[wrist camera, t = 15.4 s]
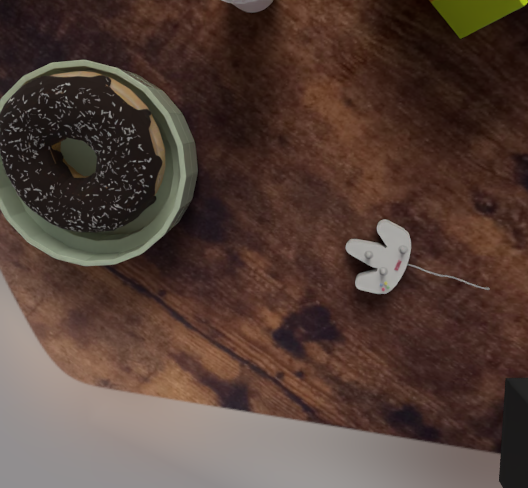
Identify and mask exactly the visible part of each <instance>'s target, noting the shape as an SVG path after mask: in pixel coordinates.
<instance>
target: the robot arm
mask: <svg viewBox="0 0 528 488" xmlns="http://www.w3.org/2000/svg"><path fill="white" fill-rule="evenodd" d="M499 482H500V483H501V485H502V487H503V488H528V378H506V382H505V397H504V413H503V428H502V444H501V459H500V475H499Z"/></svg>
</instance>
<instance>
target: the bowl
mask: <svg viewBox="0 0 528 488" xmlns="http://www.w3.org/2000/svg"><path fill="white" fill-rule="evenodd" d="M76 71H86V72H95V73H98V74H101V75H104V76H107V77H110V78H112V79H114V80H115V81H117V82H119V83H121V84H122V85H124V86H126V87H127V88H129V89H130V90H131V91H132V92H133V93H134V94H135V95H136V96H137V97H138V98H139V99H140V100H141V101H142V102H143V103H144V104H145V105H146V106H147V107H148V109H149V111H151V115H152V116H153V118H154V120H155V122H156V124H157V126H158V128H159V131H160V134H161V137H162V141H163V144H164V147H165V171H164V175H163V180H162V183H161V185H160V187H159V189H158V191H157V193H156V195H155V196H156V201H155V202H154V203H153V204H152V205H150V206H149V207H148V208H146V209H145V210H144V211H143V212H142V213H141V214H140V216H139V217H138V218H136V219H135V220H134V221H132V222H130V223H129V224H127V225H125V226H122V227H120V228H117V229H116V230H114V231H105V232H97V233H95V232H76V231H70V230H66V229H62V228H58V227H57V226H55V225H53V224H51V223H48V221H47V222H46V221H45V219H44V218H42V217H41V216H39V215H38V214H36V213H34V211H32V210H31V209H30V208H29V207H28V206H27V205H26V204H25V203H24V202H23V200H22V199H21V198H20V197H19V195H18V196H17V192H16V190H15V188H14V187H13V186H12V184H11V182H10V179H9V177H8V176H7V175H6V171H5V168H4V165H3V163H2V160H1V155H0V209H1V211H2V213H3V215H4V216H5V218H6V220H7V221H8V222H9V223H10V224H11V225H12V226H13V227H14V228H15V229H16V230H17V232H18V233H19V234H20V235H21V236H22V237H23V238H24V239H25V240H26V241H27V242H28V243H29V244H31V245H33V246H34V247H36V248H38V249H40V250H41V251H43V252H45V253H46V254H48V255H50V256H51V257H53V258H55V259H58V260H62V261H66V262H70V263H74V264H78V265H82V266H101V265H115V264H118V263H120V262H123V261H125V260H128V259H131V258H133V257H136V256H138V255H141V254H143V253H144V252H145V251H146V250H147V249H148V248H150V247H151V246H152V245H153V244H154V243H156V242H157V241H158V240H159V239H160V238H161V237H163V236H164V235H165V234H166V233H167V232H168V231H170V230H171V229H172V228H173V227H174V226H175V225H177V223H179V221H180V219H181V218H182V216H183V214H184V213H185V211H186V209H187V207H188V206H189V204H190V202H191V201H192V198H193V193H194V188H195V184H196V179H197V174H198V166H197V156H196V147H195V143H194V142H195V141H194V139H193V137H192V134H191V132H190V129H189V127H188V125H187V122H186V120H185V118H184V115H183V114H182V113H181V111H180V110H179V109H178V108H177V107H176V105H175V104H174V103H173V102H172V101H171V100H170V98H169V97H168V96H167V95H166V94H165V92H164V91H162V90H161V89H159V88H158V87H156V86H155V85H153V84H152V83H150V82H148V81H147V80H145V79H144V78H142V77H141V76H139V75H137V74H134V73H131V72H128V71H125V70H122V69H119V68H115V67H111V66H107V65H103V64H100V63H96V62H92V61H88V60H75V61H64V62H53V63H50V64H48V65H46V66H43V67H41V68H39V69H37V70H35V71H33V72H31V73H29V74H26V75H24V76H23V77H22V78H21V79H20V80H19V81H18V82H17V83H16V84H15V85H14V86H13V87H12V88H11V89H10V90H9V91H8V92H7V93H6V94H5V95H4V96H3V97H2V98H1V100H0V112H1V110H2V108H3V106H4V104H5V103H6V102H7V101H8V100H9V99H10V97H11V96H12V95H13V94H14V93H15V92H16V91H17V90H18V89H19V88H21V87H22V86H23V85H25V84H26V83H28V82H30V81H32V80H34V79H36V78H39V77H41V76H51V75H53V74H60V73H68V72H76ZM60 150H61V153H62V155H63V156H64V159H65V161H66V162H67V163H68V164H69V165H70V166H71V167H73V168H74V169H75V170H76V171H77V172H78V173H79V174H81V175H83V176H90V175H92V174H93V173H94V172H95V171H96V163H97V156H96V154H95V152H94V150H92V148H91V147H90V146H88V145H87V144H85V142H84V141H81V140H75V139H71V138H66V139H65V140H63V141H61V149H60ZM3 168H4V169H3ZM50 224H51V225H50Z"/></svg>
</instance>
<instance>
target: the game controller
mask: <svg viewBox="0 0 528 488" xmlns="http://www.w3.org/2000/svg"><path fill="white" fill-rule="evenodd" d="M377 232H378V234H379V236H380V237H381V239H382V240H383V242H384V243H385V245H386V246H384V245H383V244H381V243H377V242H372V241H366V240H360V239H351V240H349V241H348V242H347V244H346V251H347V252H348V253H349V254H350V255H352V256H354V257H355V258H357V259H359V260H360V261H362V262H364V263H366V264H367V265H369V266H371V267H374V268H377V269H373V270H369V271H365V272H362V273H359V274H358V275H357V277H356V281H355V285H356V287H357V288H358V289H359V290H362V291H367V292H371V293H375V294H386V293H388V292H390V291H391V290H392V289H393V288H394V287H395V286H396V285H397V283H398V282H399V280H400V279H401V277H402V275H403V273H404V271H405V269H406V266H407V265H409V266H412V267H415V268H418V269H420V270H422V271H425V272H428V273H431V274H434V275H438V276H442V277H444V276H446V277H450V278H453V279H457V280H460V281H463V282H465V283H467V284H470V285H472V286H475V287H479V288H482V289H486V290H489V289H490V288H488V287H487V288H484V287H480V286H477V285H474V284H471V283H469V282H467V281H464V280H461V279H458V278H455V277H452V276H448V275H440V274H436V273H433V272H430V271H427V270H424V269H422V268H420V267H417V266H414V265H411V264H407V263H408V260H409V257H410V251H411V239H410V236H409V233H408V232H407V231H406V230H405V229H404V228H402V227H400V226H398V225H397V224H395V223H393V222H391V221H389V220H385V219H384V220H381V221H379V223H378V224H377Z"/></svg>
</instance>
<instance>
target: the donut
mask: <svg viewBox="0 0 528 488" xmlns="http://www.w3.org/2000/svg"><path fill="white" fill-rule="evenodd" d="M66 138H71V139H75V140H81V141H84V142H85V144H87V145H88V146H90V147H91V148H92V150H94V152H95V154H96V156H97V163H96V171H95V172H94V173H93V174H92V175H90V176H83V175H81V174H79V173H78V172H77V171H76V170H75V169H74V168H73V167H71V166H70V165H69V164H68V163H67V162H66V161H65V159H64V156H63V155H62V153H61V150H60V149H61V141H63V140H65V139H66ZM0 155H1V160H2V163H3V165H4V168H5V171H6V175H7V176H8V177H9V179H10V182H11V184H12V186H13V187H14V188H15V190H16V192H17V196H18V195H19V197H20V198H21V199H22V200H23V202H24V203H25V204H26V205H27V206H28V207H29V208H30V209H31V210H32V211H34V213H36V214H38V215H39V216H41V217H42V218H44V219H45V221H46V222H47V221H48V223H51V224H53V225H55V226H57V227H58V228H62V229H66V230H70V231H76V232H95V233H97V232H105V231H114V230H116V229H117V228H120V227H122V226H125V225H127V224H129V223H130V222H132V221H134V220H135V219H136V218H138V217H139V216H140V214H141V213H142V212H143V211H144V210H145V209H146V208H148V207H149V206H150V205H152V204H153V203H154V202H155V201H156V196H155V195H156V193H157V191H158V189H159V187H160V185H161V183H162V180H163V175H164V171H165V147H164V144H163V141H162V137H161V134H160V131H159V128H158V126H157V124H156V122H155V120H154V118H153V116H152V115H151V111H149V109H148V107H147V106H146V105H145V104H144V103H143V102H142V101H141V100H140V99H139V98H138V97H137V96H136V95H135V94H134V93H133V92H132V91H131V90H130V89H129V88H127V87H126V86H124V85H122V84H121V83H119V82H117V81H115V80H114V79H112V78H110V77H107V76H104V75H101V74H98V73H95V72H86V71H76V72H68V73H60V74H53V75H51V76H41V77H39V78H36V79H34V80H32V81H30V82H28V83H26V84H25V85H23V86H22V87H21V88H19V89H18V90H17V91H16V92H15V93H14V94H13V95H12V96H11V97H10V99H9V100H8V101H7V102H6V103H5V104H4V106H3V108H2V110H1V112H0ZM4 168H3V169H4ZM51 224H50V225H51Z"/></svg>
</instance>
